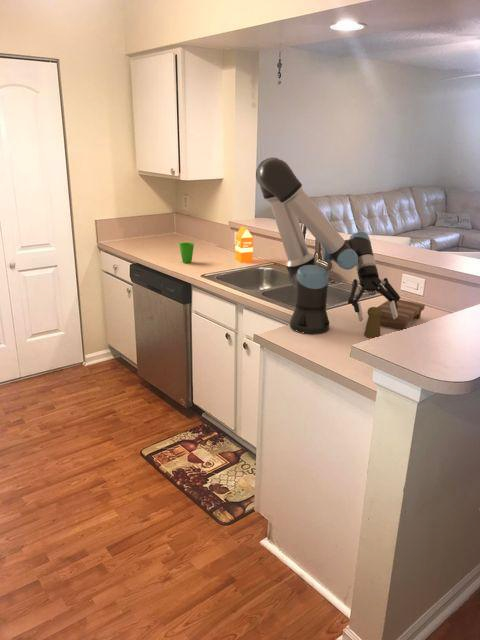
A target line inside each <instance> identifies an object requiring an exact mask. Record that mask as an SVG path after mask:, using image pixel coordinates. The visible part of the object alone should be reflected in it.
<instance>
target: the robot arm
mask: <svg viewBox="0 0 480 640" xmlns="http://www.w3.org/2000/svg"><path fill="white" fill-rule="evenodd" d="M255 178H256V182H257V183H258V185H259V187H260V190H261V193H262V196H263V199H264V200H265V201H267V202H269V205H270V208H271V211H272V213H273V216H274V217H273V218H274V220H275V223H276V226H277V229H278V233H279V235H280V239H281V242H282V245H283V248H284V252H285V254H286V256H287V260H286V263H285V266H286V269H287V273H288V279H289V281H290V283H291V285H292V286H293V289H295V308H294V310H293V312H292V316H291V318H290V320H289V327H291V328H292V329H294V330H297V331H299V332H298V333H300V332H304V333H303V334H305V333H320V334H324V333H327V332H328V331H329V330H330V320H329V317H328V311H327V299H328V298H327V297H328V287H329V280H330V279H329V272H328V269H326V268H325V267H323V266H320V265H317V262H316V259H315V256H314V254H312V253H310V252H309V249H308V245H307V243H306V242H307V241H306V240H305V237H304V233H303V230H302V227H301V223H302V224H303V226H304V227H305V228H306V229H307V231H309V233H311V235H312V236H313V237H314V238H315V240H317V242H318V243H319V244H320V245H321V256H322V260H324V262H325V261H326V262H327V261H328V262H329V261H330V262H332V261H333V262H335V264H337V266H338V267H339V268H341V269H343V270H347V271H348V270H352V269H354V268H356V271H357V273H356V274H357V276H358V279H355V278H354V279H353V280H352V281H351V291H350V294H349V295H348V296H349V297H348V301H347V303H348V304H350V305H351V306H352V307H353V310H354V312H355V313H357V318H358V321H359V322H361V321H363V320H364V314H363V309H362V305H361V302H359V301H360V299H361V297H362V296H363V295H364V293H365V291H366V292H377V293H379V294H380V295H381V296H383V297H384V298H385V299H386V300H387V301H388V300H389V301H390V302H391V303H390V308H391V312H392V316H393V319H396V318H397V317H398V314H397V309H398V306H397V301H398V300H401V296H400V295H399V293H398V292H397V291H396V290H395V289H394V287H393V286H392V285H391V284H390V283H389V279H388V278H387V277H385V278H383V279H381V278H380V277H379V272H378V267H377V263H376V260H375V256H374V251H373V249H372V242H371V239H370V237H369V234H368V233H367V232H365V231H357V232H354V233H353V234H351V235H350V237H349V239H344V238H343V236H341V234H340V233H339V232H338V231H337V229H336V228H335V227H334V226H333V225H332V223H331V222H330V220H328V218H327V217H326V215H324V214H323V212H322V211H321V210H320V209H319V207H318V206H317V205H316V203H314V202H313V200H312V199H311V198H310V197H309V196H308V194H307V193H306V192H305V191H304V190H303V184H302V182H300V179H298V177H297V176H296V174H295V173H294V171H293V170H292V168H291V166H289V164H288V163H287V162H286V161H284V160H282V159H280V158H278V157H269V158H265V159H264V160H262V161H261V162H260V163H259V164H258V165H257V168H256V171H255ZM358 286H359V287H361V290H360V291H359V293H358V295H356V291H357V287H358ZM355 295H356V297H355ZM291 328H290V329H291ZM292 329H291V330H292ZM294 330H293V331H294ZM326 331H327V332H326ZM323 332H324V333H323Z"/></svg>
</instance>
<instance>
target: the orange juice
mask: <svg viewBox="0 0 480 640" xmlns="http://www.w3.org/2000/svg"><path fill="white" fill-rule="evenodd" d="M250 232H251V231H249V229H248V228H247V227H245V226H243V225H241V227H240V228H239V230H238V231H237V232H236V234H235V261H237V262H239V263H242V264H243V263H252V262H251V261H253V258H254V257H253V256H254V236H253V235H252V234H251V233H250Z"/></svg>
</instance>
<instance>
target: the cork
mask: <svg viewBox="0 0 480 640" xmlns="http://www.w3.org/2000/svg"><path fill="white" fill-rule="evenodd" d="M366 313H367V321H366V325H365V328H364V334H363V336H364V338H365V337H366V338H368V339H371V338H375V337H379V336H381V337H382V335H381V334H382V333H381V326H380V316H381V315H382V310H381V309H380V308H378V306H371V307H368V309H367V312H366Z"/></svg>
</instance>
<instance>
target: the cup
mask: <svg viewBox="0 0 480 640" xmlns="http://www.w3.org/2000/svg"><path fill="white" fill-rule="evenodd" d="M178 245H179V249H180V256H181V260H182V261H181V262H182V263H183V264H192V262H193V254H194V249H195V248H194V246H195V243H194V242H179V243H178Z"/></svg>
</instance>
